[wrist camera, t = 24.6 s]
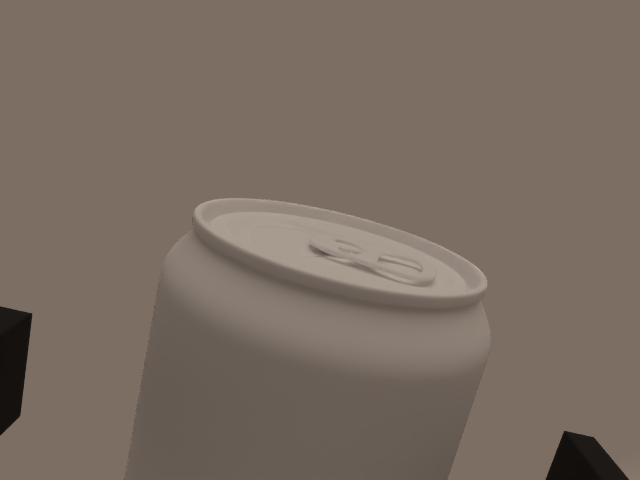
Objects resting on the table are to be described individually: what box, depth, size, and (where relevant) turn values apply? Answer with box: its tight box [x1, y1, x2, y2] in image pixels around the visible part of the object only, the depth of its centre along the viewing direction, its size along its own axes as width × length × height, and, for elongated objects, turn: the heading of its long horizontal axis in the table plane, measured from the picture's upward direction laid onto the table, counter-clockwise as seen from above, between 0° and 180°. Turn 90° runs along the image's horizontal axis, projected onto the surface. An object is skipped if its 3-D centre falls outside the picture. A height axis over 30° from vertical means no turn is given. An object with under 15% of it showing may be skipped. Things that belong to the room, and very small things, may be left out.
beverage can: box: [124, 198, 491, 480], centre depth 14 cm, size 8×8×12 cm
